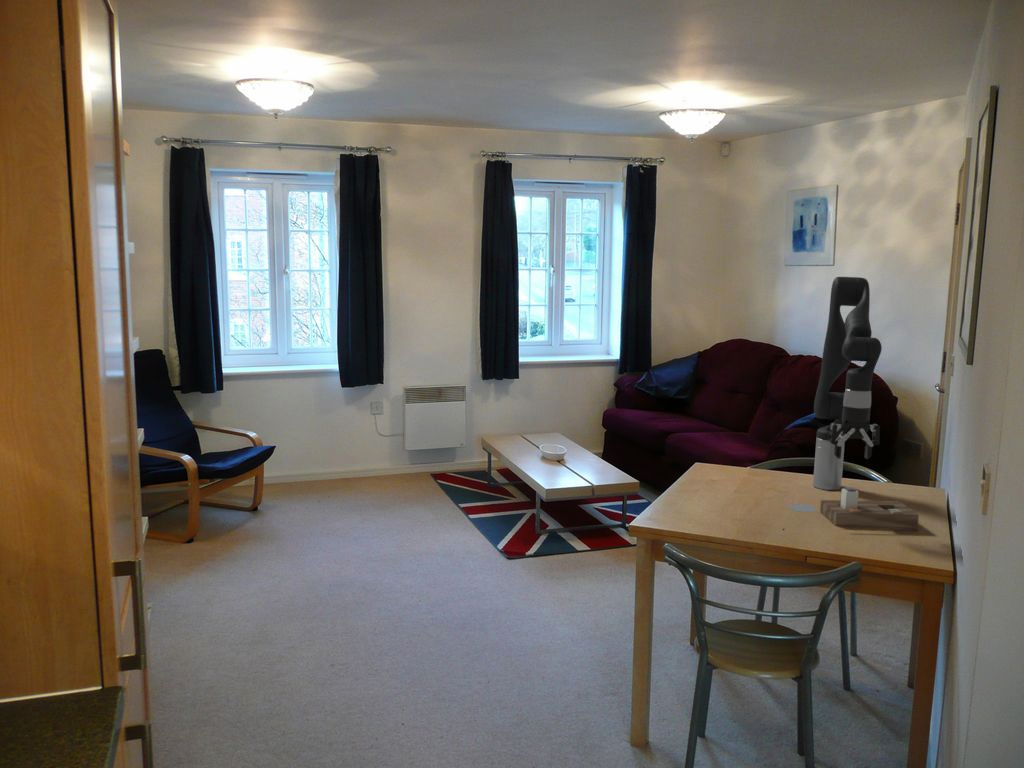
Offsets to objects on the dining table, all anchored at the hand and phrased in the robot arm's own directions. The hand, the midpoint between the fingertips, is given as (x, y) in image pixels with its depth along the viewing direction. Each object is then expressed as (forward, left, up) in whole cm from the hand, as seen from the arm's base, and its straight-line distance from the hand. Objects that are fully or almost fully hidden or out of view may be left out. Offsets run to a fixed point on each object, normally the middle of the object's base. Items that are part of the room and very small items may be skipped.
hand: (852, 458), depth 253 cm
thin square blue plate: (-10, -10, -20) cm, 25 cm away
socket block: (0, +6, -20) cm, 21 cm away
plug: (0, 0, -19) cm, 19 cm away
